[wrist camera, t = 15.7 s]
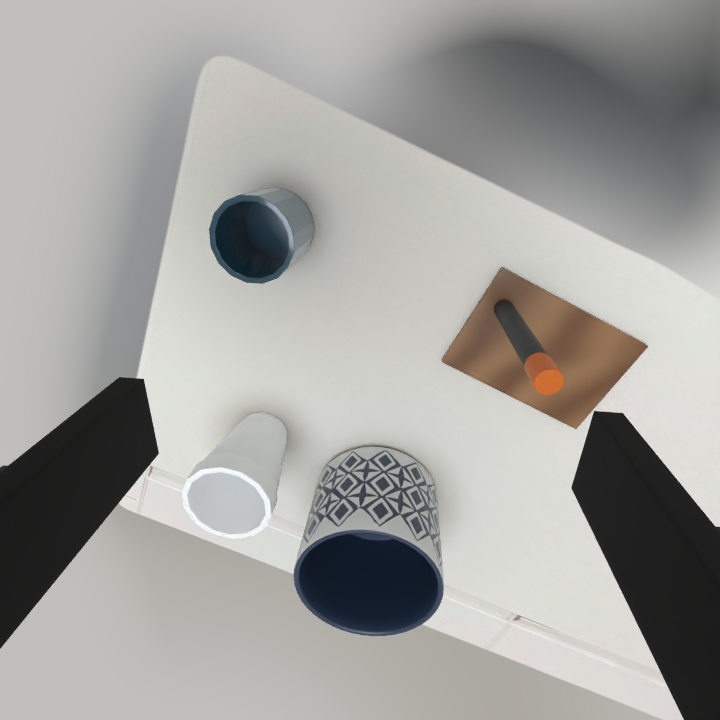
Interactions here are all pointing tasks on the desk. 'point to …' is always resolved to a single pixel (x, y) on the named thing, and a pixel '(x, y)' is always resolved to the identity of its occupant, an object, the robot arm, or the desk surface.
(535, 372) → the marker
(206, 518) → the foam cup
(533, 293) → the brown wooden board
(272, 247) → the pen cup
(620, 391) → the desk surface
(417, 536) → the planter
